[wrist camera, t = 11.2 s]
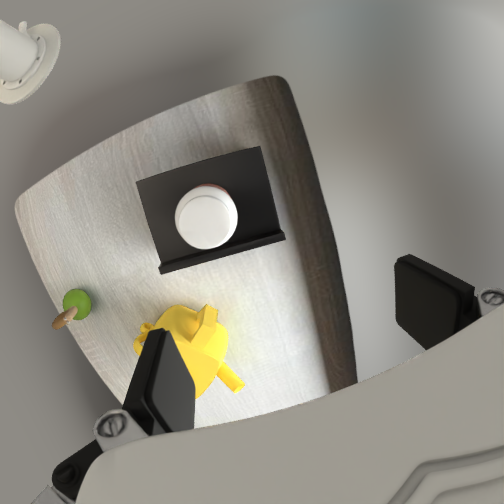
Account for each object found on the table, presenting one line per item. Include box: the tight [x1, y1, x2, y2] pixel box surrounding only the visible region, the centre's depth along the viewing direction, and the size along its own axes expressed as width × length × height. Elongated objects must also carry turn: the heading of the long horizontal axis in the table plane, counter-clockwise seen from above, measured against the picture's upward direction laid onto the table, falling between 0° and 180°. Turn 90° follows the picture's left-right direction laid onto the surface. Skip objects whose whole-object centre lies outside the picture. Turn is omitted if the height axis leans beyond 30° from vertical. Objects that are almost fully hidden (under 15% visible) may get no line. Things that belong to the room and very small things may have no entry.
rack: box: [136, 146, 286, 275], centre depth 38 cm, size 12×16×10 cm
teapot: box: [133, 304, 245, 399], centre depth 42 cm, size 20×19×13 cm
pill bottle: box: [175, 184, 237, 249], centre depth 29 cm, size 6×6×11 cm
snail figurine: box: [52, 289, 91, 330], centre depth 38 cm, size 5×6×12 cm
